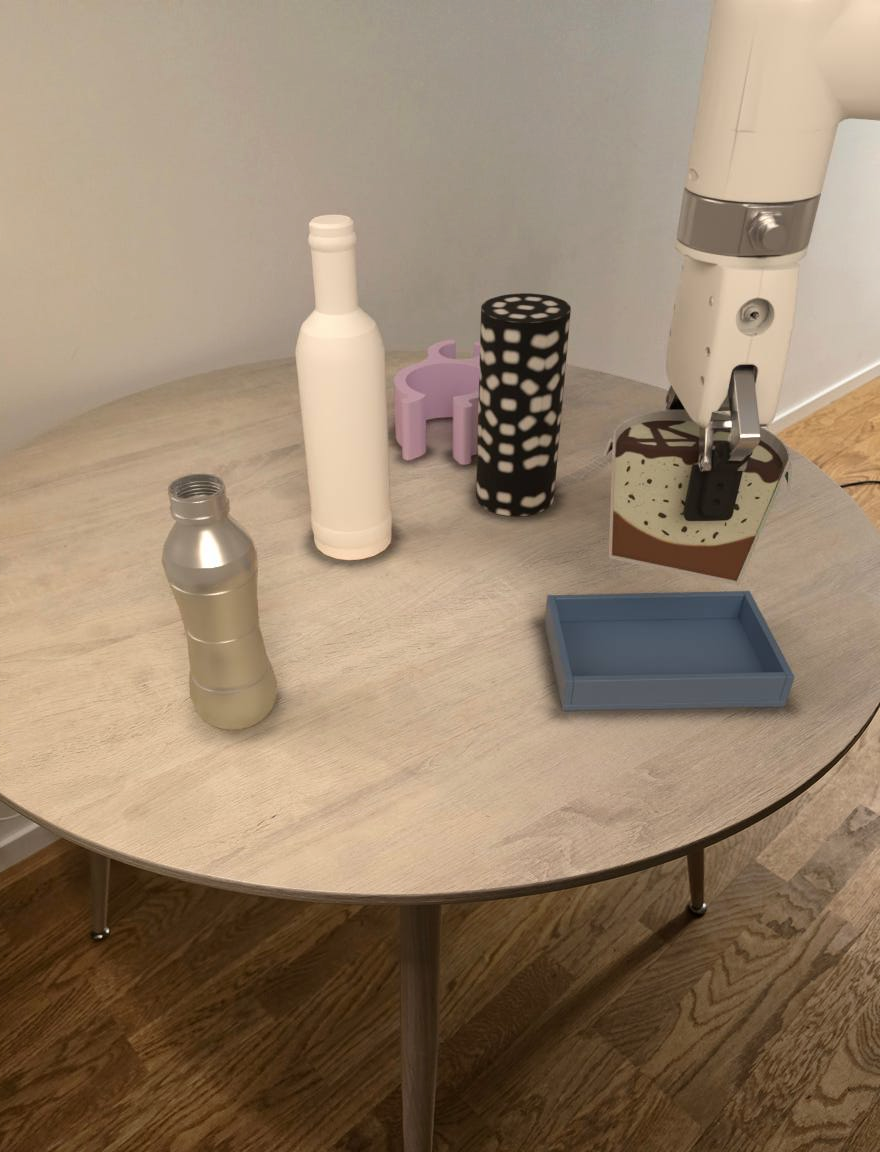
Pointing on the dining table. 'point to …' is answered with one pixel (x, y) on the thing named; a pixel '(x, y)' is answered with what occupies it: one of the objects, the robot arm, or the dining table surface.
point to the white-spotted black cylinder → (520, 401)
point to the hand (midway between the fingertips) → (691, 488)
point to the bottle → (343, 403)
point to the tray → (664, 651)
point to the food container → (658, 492)
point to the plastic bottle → (218, 604)
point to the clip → (438, 400)
